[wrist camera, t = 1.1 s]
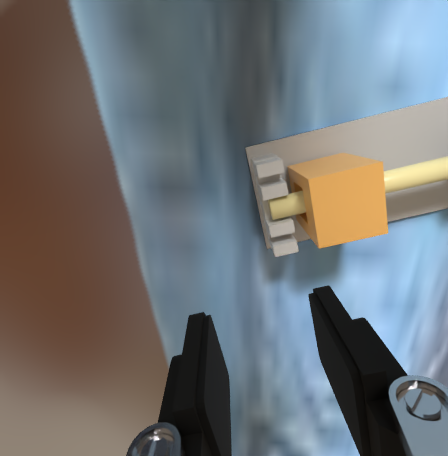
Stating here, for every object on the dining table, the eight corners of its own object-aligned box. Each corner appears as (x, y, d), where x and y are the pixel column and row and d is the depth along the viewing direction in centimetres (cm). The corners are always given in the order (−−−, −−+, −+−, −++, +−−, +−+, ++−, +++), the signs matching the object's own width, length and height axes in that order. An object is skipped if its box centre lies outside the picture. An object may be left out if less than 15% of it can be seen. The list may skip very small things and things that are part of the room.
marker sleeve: (287, 166, 27) (308, 179, 21) (343, 152, 27) (382, 161, 20) (296, 220, 29) (319, 248, 22) (349, 208, 28) (388, 233, 22)
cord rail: (245, 147, 27) (251, 153, 21) (491, 85, 26) (573, 73, 20) (266, 247, 31) (277, 277, 24) (487, 197, 29) (557, 216, 23)
